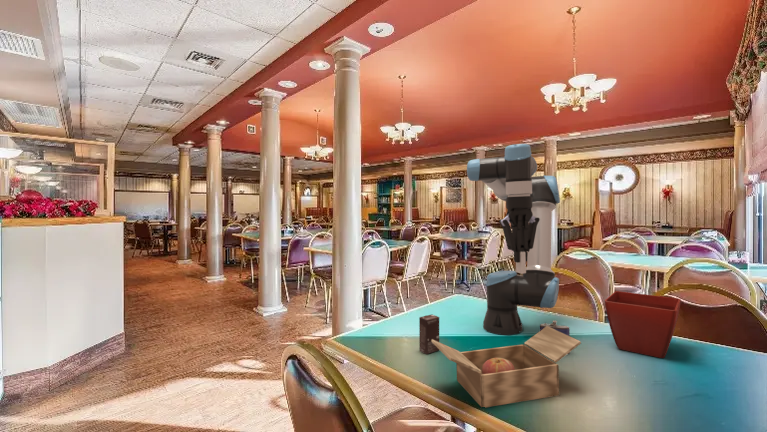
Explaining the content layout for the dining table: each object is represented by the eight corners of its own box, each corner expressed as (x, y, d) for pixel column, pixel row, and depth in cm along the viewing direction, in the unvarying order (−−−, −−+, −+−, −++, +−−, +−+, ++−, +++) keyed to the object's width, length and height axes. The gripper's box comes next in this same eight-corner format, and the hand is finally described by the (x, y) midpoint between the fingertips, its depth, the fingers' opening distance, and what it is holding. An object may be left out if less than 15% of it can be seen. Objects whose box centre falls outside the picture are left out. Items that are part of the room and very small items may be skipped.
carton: (524, 370, 108) (523, 344, 108) (559, 395, 94) (558, 364, 94) (456, 380, 104) (456, 352, 103) (482, 407, 89) (481, 375, 89)
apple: (512, 400, 92) (511, 369, 92) (478, 391, 97) (477, 362, 97) (519, 385, 100) (518, 356, 99) (487, 378, 104) (486, 351, 104)
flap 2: (554, 360, 94) (580, 341, 96) (524, 342, 107) (546, 325, 109) (556, 363, 94) (581, 343, 96) (525, 344, 107) (548, 327, 109)
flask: (569, 352, 121) (568, 320, 121) (570, 355, 118) (569, 323, 118) (539, 348, 125) (539, 318, 124) (540, 352, 122) (539, 320, 122)
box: (427, 355, 122) (426, 319, 122) (419, 351, 126) (418, 316, 126) (440, 350, 125) (439, 316, 125) (432, 347, 129) (431, 313, 129)
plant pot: (681, 346, 123) (681, 297, 123) (677, 365, 109) (676, 310, 109) (616, 334, 136) (615, 290, 136) (604, 350, 122) (603, 300, 122)
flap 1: (458, 350, 103) (432, 339, 101) (481, 371, 90) (451, 358, 88) (457, 353, 103) (430, 341, 101) (480, 374, 90) (450, 360, 88)
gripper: (529, 195, 115) (530, 268, 116) (493, 196, 111) (495, 272, 112) (545, 194, 108) (547, 272, 109) (507, 196, 104) (510, 276, 105)
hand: (521, 272), depth 110 cm, fingers closed
